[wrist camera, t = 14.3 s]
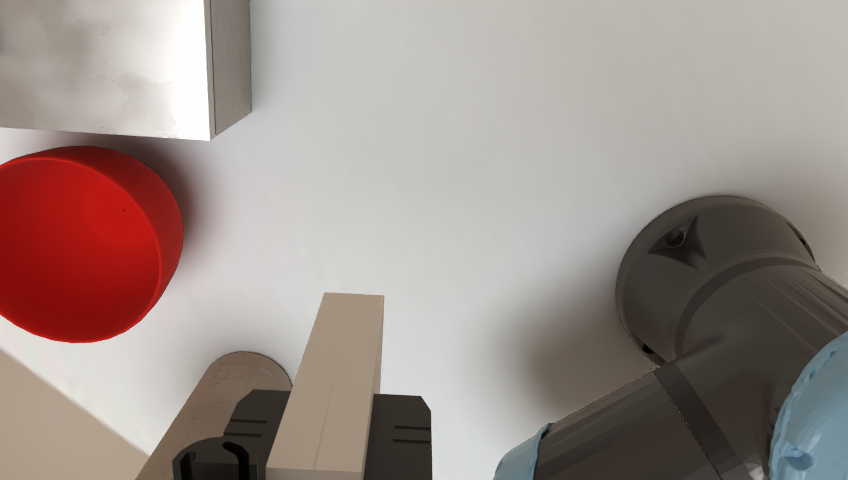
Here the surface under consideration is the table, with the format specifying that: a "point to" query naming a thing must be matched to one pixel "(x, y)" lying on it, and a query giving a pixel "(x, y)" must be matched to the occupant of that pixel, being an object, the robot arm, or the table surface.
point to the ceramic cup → (84, 242)
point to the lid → (108, 67)
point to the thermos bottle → (213, 406)
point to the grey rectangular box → (230, 61)
